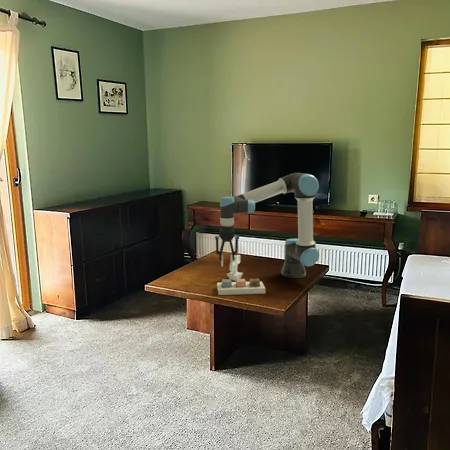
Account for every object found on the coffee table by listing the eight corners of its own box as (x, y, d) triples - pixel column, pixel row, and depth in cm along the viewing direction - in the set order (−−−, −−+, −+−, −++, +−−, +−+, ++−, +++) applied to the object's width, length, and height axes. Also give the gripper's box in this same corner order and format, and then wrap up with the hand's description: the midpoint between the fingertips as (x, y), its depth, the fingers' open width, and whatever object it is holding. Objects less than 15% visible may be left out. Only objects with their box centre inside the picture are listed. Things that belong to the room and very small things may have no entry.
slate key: (230, 285, 253) (230, 279, 252) (231, 288, 248) (231, 282, 248) (221, 286, 253) (221, 279, 252) (222, 289, 248) (222, 282, 247)
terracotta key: (244, 285, 254) (244, 278, 253) (245, 288, 249) (245, 281, 248) (235, 285, 253) (235, 279, 253) (236, 288, 249) (236, 281, 248)
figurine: (225, 280, 269) (225, 256, 266) (234, 276, 277) (234, 253, 274) (235, 282, 265) (235, 258, 262) (244, 278, 273) (244, 254, 270)
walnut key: (258, 285, 255) (258, 278, 254) (259, 288, 250) (259, 281, 249) (249, 285, 254) (249, 278, 253) (251, 288, 249) (251, 281, 249)
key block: (261, 286, 259) (261, 281, 258) (265, 293, 247) (265, 288, 246) (217, 287, 256) (217, 282, 256) (218, 294, 245) (218, 289, 244)
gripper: (242, 223, 248) (241, 263, 252) (210, 223, 246) (210, 264, 251) (243, 226, 241) (243, 267, 245) (211, 226, 239) (211, 268, 244)
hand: (226, 265), depth 248 cm, fingers open, 4 cm apart
